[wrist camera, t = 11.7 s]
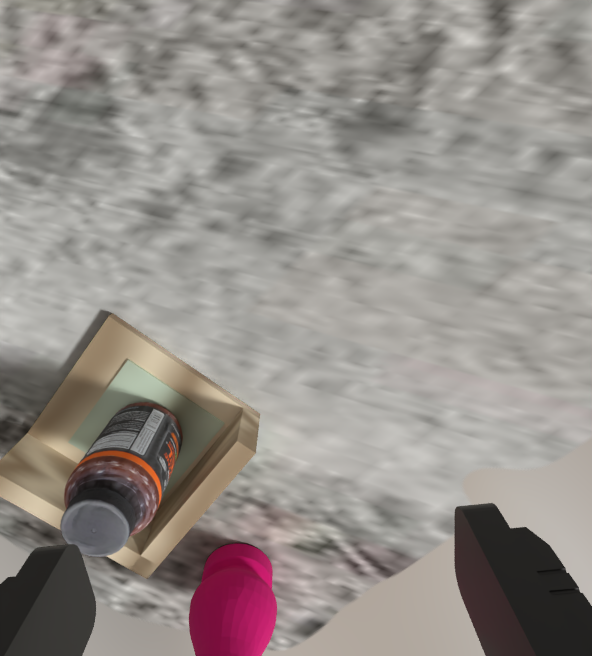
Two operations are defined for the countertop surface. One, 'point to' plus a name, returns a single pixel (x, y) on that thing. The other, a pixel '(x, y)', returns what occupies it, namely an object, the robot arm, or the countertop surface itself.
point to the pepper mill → (233, 603)
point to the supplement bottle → (121, 479)
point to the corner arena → (95, 413)
